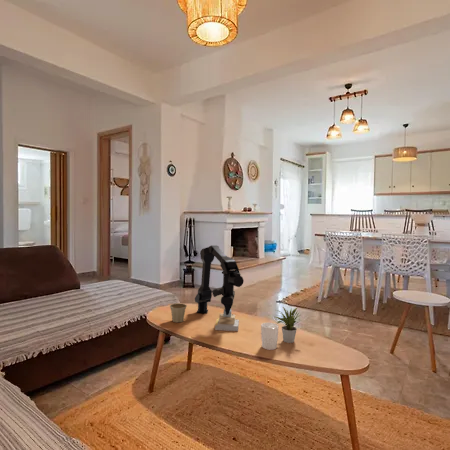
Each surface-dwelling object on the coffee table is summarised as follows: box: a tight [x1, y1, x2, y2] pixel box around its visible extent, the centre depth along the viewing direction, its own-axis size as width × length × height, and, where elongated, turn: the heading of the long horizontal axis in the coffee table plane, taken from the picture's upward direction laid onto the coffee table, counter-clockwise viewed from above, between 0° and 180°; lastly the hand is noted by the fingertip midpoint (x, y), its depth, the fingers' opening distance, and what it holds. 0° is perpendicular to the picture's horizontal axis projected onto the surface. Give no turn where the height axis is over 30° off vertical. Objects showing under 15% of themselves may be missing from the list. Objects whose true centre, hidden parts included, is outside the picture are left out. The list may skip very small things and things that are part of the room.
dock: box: [214, 318, 240, 332], centre depth 173 cm, size 11×12×3 cm
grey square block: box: [222, 308, 233, 317], centre depth 173 cm, size 4×4×3 cm
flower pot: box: [169, 302, 188, 324], centre depth 181 cm, size 9×9×9 cm
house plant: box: [274, 306, 301, 344], centre depth 157 cm, size 14×14×16 cm
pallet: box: [219, 313, 236, 324], centre depth 173 cm, size 8×6×4 cm
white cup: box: [260, 322, 279, 351], centre depth 148 cm, size 8×8×10 cm
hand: (227, 312), depth 173 cm, fingers open, 9 cm apart
